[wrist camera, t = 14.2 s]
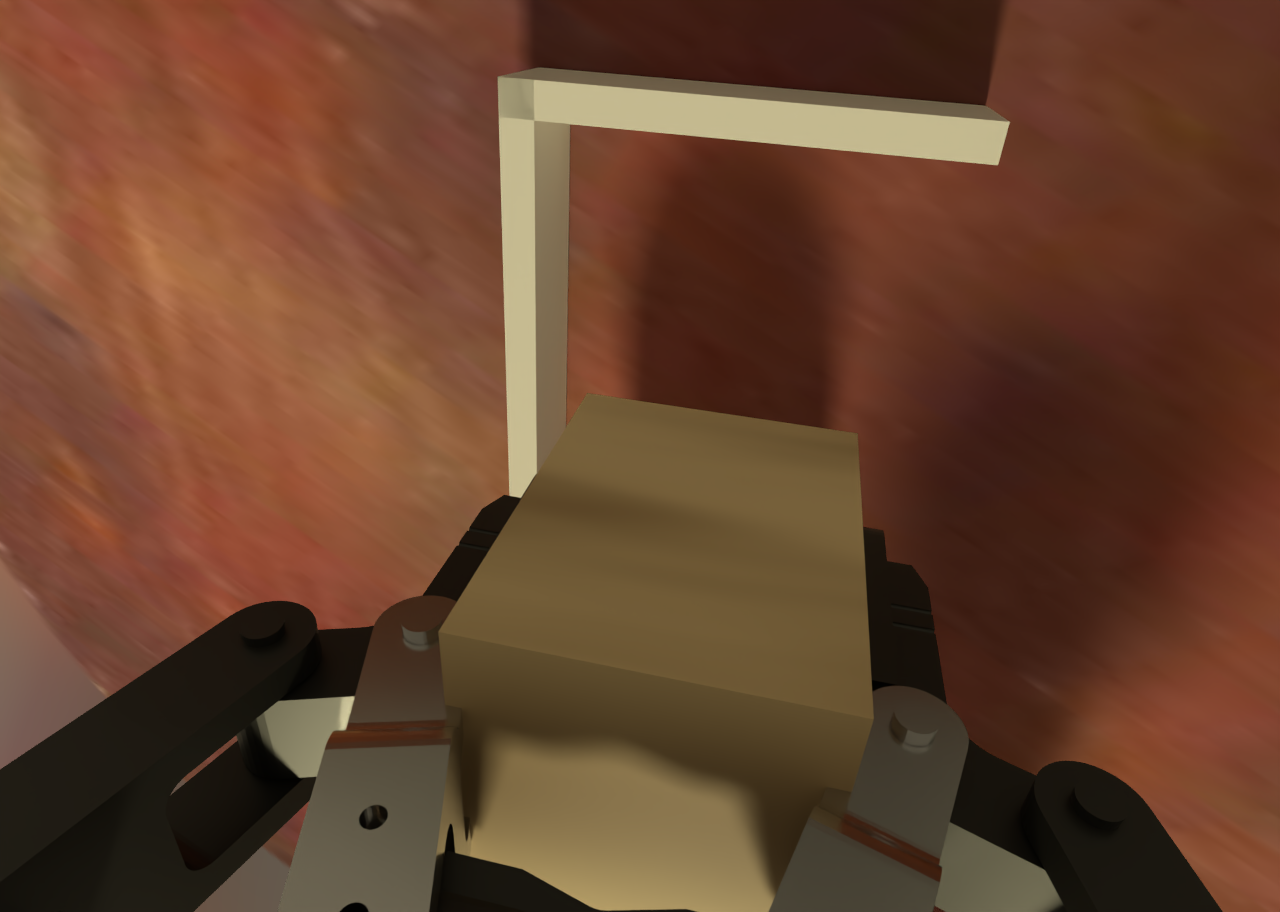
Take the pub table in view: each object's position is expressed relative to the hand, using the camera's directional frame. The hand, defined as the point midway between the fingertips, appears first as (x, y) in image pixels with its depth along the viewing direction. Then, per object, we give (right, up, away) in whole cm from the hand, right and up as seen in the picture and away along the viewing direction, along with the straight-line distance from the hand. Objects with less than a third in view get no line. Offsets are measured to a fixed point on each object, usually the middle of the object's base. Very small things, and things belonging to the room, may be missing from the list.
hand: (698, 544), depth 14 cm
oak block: (0, 0, +1) cm, 1 cm away
